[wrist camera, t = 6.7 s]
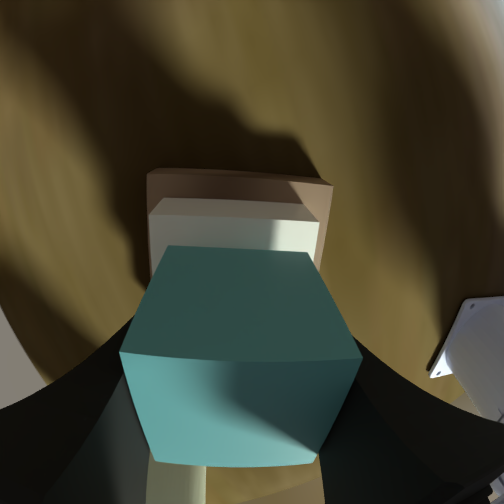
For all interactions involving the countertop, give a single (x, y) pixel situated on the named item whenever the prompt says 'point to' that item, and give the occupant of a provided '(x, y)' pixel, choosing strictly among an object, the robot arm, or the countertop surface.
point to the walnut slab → (242, 192)
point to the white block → (231, 226)
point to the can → (175, 483)
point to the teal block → (237, 358)
